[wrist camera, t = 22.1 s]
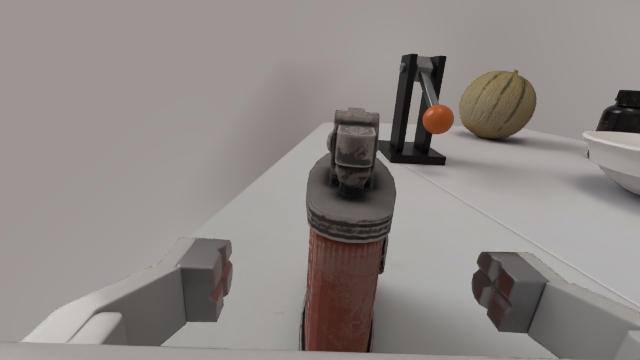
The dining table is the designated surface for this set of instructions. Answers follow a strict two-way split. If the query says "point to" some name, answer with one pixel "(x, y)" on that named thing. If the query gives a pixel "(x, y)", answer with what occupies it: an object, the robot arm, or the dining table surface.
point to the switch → (432, 100)
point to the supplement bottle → (622, 114)
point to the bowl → (616, 156)
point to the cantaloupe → (497, 104)
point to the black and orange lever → (420, 147)
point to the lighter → (346, 236)
